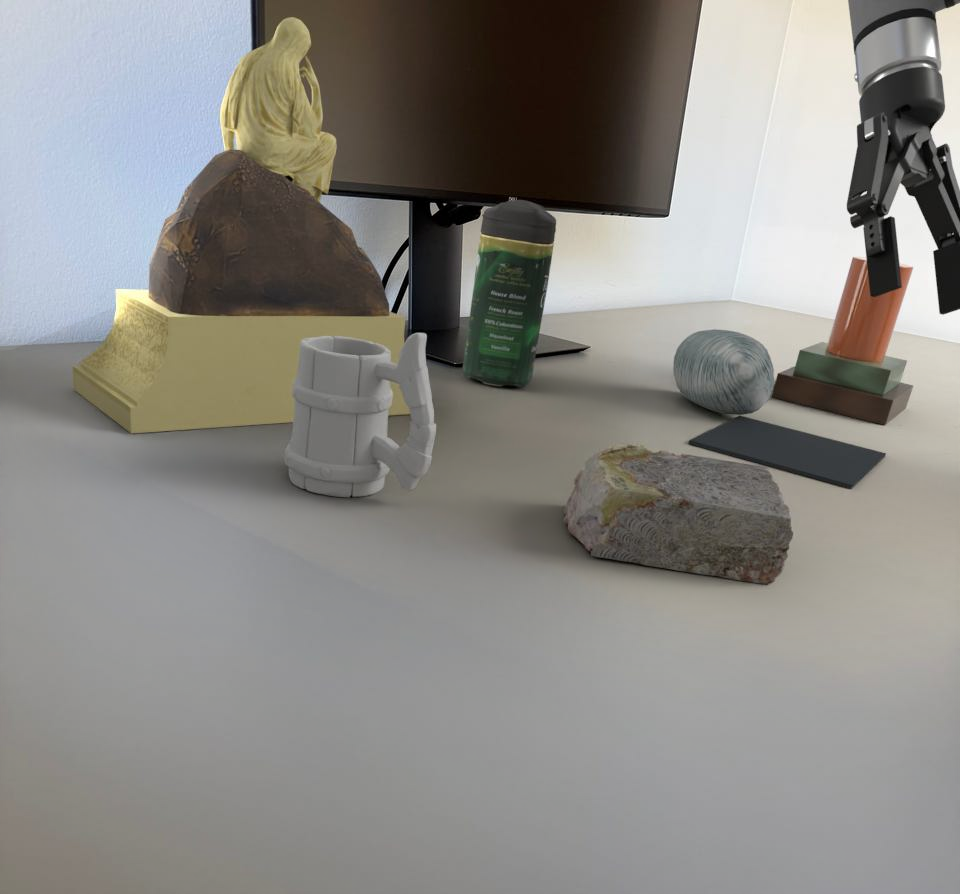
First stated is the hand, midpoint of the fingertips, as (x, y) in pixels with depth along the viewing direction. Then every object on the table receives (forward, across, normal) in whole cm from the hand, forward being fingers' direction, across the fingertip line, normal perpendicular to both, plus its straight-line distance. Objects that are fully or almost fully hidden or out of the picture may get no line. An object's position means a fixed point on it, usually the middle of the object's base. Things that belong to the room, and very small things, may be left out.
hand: (921, 301), depth 95 cm
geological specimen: (+23, +41, 0) cm, 47 cm away
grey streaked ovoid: (+3, +1, -20) cm, 20 cm away
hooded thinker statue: (+5, +55, -35) cm, 65 cm away
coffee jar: (0, +23, -37) cm, 44 cm away
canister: (-2, -19, -18) cm, 26 cm away
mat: (+13, +8, -11) cm, 19 cm away
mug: (+16, +57, -15) cm, 62 cm away
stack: (+3, -19, -21) cm, 29 cm away
